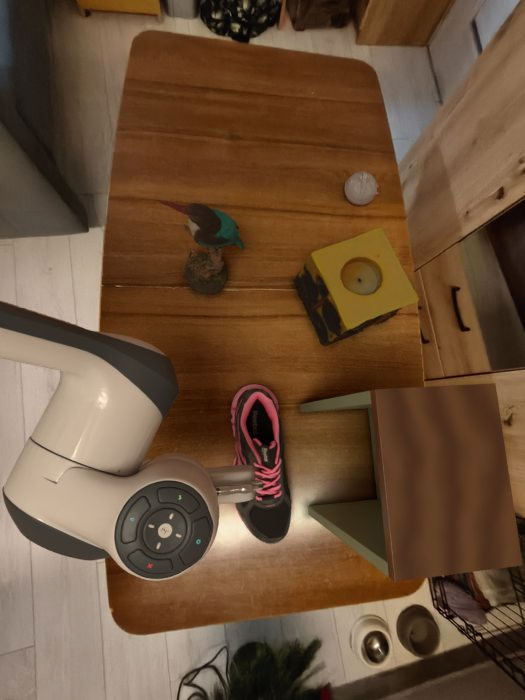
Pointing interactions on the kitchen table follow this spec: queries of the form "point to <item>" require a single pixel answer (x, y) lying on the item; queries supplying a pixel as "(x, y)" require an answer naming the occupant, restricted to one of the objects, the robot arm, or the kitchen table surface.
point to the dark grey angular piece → (360, 516)
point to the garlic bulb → (360, 188)
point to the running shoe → (262, 462)
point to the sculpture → (207, 245)
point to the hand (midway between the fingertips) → (175, 479)
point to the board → (443, 481)
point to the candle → (353, 286)
